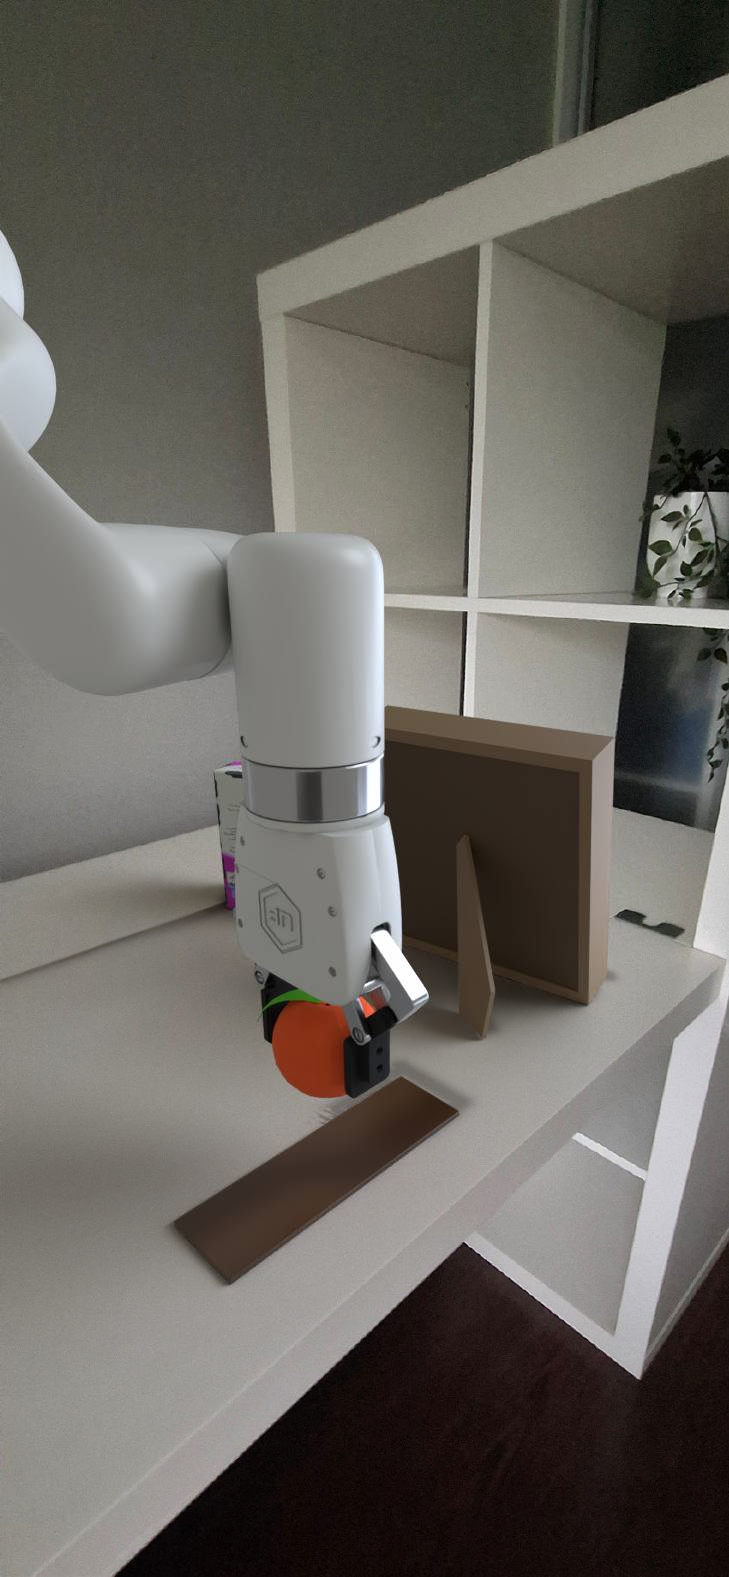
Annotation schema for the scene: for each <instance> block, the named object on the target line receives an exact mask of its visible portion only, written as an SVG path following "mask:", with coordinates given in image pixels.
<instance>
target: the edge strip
mask: <svg viewBox="0 0 729 1577" xmlns="http://www.w3.org/2000/svg"><path fill="white" fill-rule="evenodd" d="M459 1116H460V1110H458V1109H457V1108H455V1107H453V1106H452V1105H450V1104H449V1103H447V1102H445V1101H444V1100H442V1099H440V1098H438V1097H437V1096H436V1095H434V1094H431V1093H430V1092H428V1091H427V1090H426V1089H423V1088H422V1087H420V1086H418V1085H417V1084H415V1083H414V1082H413V1081H410V1080H408V1079H407V1078H405V1077H404V1076H402V1075H400V1076H399V1077H397V1078H395V1079H394V1080H392V1081H390V1082H389V1083H387V1084H386V1085H384V1086H383V1087H381V1088H379V1089H378V1090H376V1091H375V1092H373V1093H372V1094H370V1095H368V1096H367V1097H365V1098H364V1099H363V1100H361V1101H360V1102H358V1103H356V1104H355V1105H353V1106H351V1107H350V1108H348V1109H347V1110H345V1111H344V1112H342V1113H341V1114H339V1115H338V1116H336V1117H334V1118H332V1119H331V1120H330V1121H328V1122H326V1123H325V1124H323V1125H322V1126H320V1127H319V1128H317V1129H316V1130H314V1131H312V1132H311V1133H309V1134H308V1135H306V1136H305V1137H303V1138H301V1139H300V1140H298V1141H297V1142H295V1143H294V1144H292V1145H290V1146H289V1147H287V1148H286V1149H284V1150H283V1151H281V1152H279V1153H278V1154H276V1155H275V1156H273V1157H272V1158H270V1159H268V1160H267V1161H266V1162H264V1163H262V1164H260V1165H259V1166H258V1167H255V1168H254V1169H253V1170H251V1171H250V1172H248V1173H247V1174H245V1175H244V1176H242V1177H241V1178H239V1179H236V1181H234V1182H233V1183H231V1184H230V1185H228V1186H226V1187H225V1188H223V1189H222V1190H220V1191H218V1192H217V1193H216V1194H214V1195H212V1196H211V1197H209V1198H207V1199H206V1200H205V1201H203V1202H201V1203H200V1204H199V1205H196V1207H194V1208H192V1209H190V1210H189V1211H187V1212H186V1213H184V1214H182V1215H181V1216H180V1217H178V1218H176V1219H174V1221H173V1226H174V1227H175V1228H176V1229H177V1230H178V1232H180V1233H181V1234H182V1235H183V1237H184V1238H185V1239H187V1241H188V1242H189V1243H190V1244H191V1245H192V1246H193V1247H194V1248H195V1249H196V1250H197V1251H198V1252H199V1253H200V1254H201V1255H202V1257H204V1258H205V1260H207V1262H208V1263H209V1264H210V1265H211V1266H212V1267H213V1268H215V1270H216V1271H217V1272H218V1273H219V1274H220V1275H221V1276H222V1277H223V1278H224V1279H225V1280H226V1281H227V1282H228V1283H229V1284H230V1285H233V1283H235V1282H236V1281H238V1280H239V1279H240V1278H242V1277H243V1276H244V1275H246V1274H248V1272H250V1271H252V1269H254V1268H256V1266H258V1265H259V1264H261V1263H262V1262H263V1261H265V1260H266V1259H268V1258H269V1257H270V1256H271V1255H273V1254H274V1253H276V1252H277V1251H279V1249H281V1248H282V1247H284V1246H285V1245H286V1244H288V1243H289V1242H290V1241H292V1240H293V1239H294V1238H296V1237H297V1236H299V1235H300V1234H301V1233H303V1232H304V1231H305V1230H306V1229H308V1228H309V1227H311V1226H312V1225H313V1224H314V1223H316V1222H317V1221H319V1220H320V1219H321V1218H323V1217H324V1216H326V1215H327V1214H328V1213H329V1212H331V1211H333V1209H335V1208H337V1206H339V1205H340V1204H342V1203H343V1202H345V1201H346V1200H347V1199H348V1198H349V1197H351V1196H352V1195H354V1194H356V1192H358V1191H359V1190H361V1189H362V1188H363V1187H364V1186H366V1185H367V1184H369V1183H370V1182H371V1181H373V1180H374V1179H375V1178H377V1177H378V1176H380V1175H381V1174H383V1173H384V1172H385V1171H386V1170H388V1169H389V1168H390V1167H392V1166H393V1165H394V1164H396V1163H397V1162H398V1161H399V1160H401V1159H403V1158H404V1157H405V1156H406V1155H408V1154H409V1153H411V1152H412V1151H413V1150H414V1149H416V1148H417V1147H419V1146H420V1145H421V1144H422V1143H424V1142H425V1141H426V1140H428V1139H429V1138H431V1137H432V1136H434V1134H436V1133H437V1132H439V1131H440V1130H442V1129H443V1128H444V1127H446V1126H447V1125H448V1124H450V1123H451V1122H452V1121H454V1120H455V1119H456V1118H457V1117H459Z"/></svg>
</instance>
